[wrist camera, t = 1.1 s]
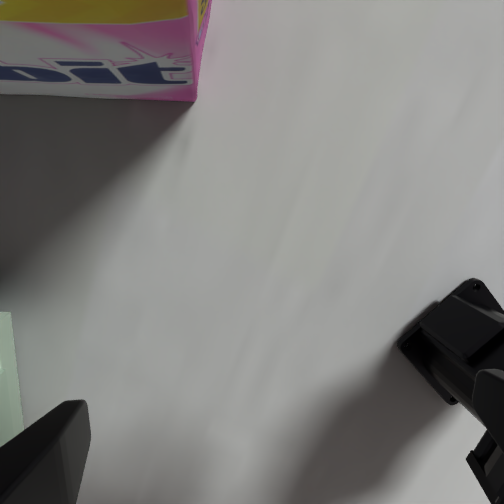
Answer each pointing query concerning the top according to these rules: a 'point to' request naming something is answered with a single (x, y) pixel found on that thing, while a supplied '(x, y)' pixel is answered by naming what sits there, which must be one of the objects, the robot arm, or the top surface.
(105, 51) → the gum box
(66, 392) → the top surface
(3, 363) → the pale green l-shaped piece
